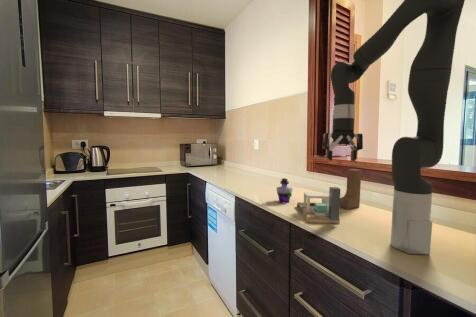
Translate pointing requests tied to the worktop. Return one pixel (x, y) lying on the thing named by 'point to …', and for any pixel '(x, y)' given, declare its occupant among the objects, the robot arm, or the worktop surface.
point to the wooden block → (352, 190)
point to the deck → (311, 217)
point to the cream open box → (315, 195)
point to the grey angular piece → (331, 205)
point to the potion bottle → (284, 191)
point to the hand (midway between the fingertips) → (341, 160)
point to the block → (320, 207)
